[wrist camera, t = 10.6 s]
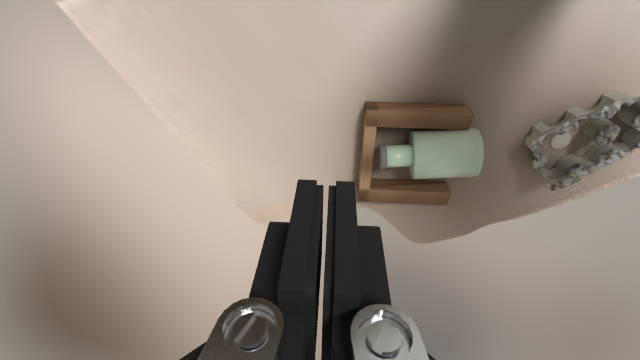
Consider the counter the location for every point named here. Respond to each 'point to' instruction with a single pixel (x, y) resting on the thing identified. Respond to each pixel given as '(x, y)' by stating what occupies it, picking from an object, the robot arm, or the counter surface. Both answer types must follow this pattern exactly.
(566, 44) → the counter surface
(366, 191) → the rest
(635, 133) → the egg carton
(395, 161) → the bottle
